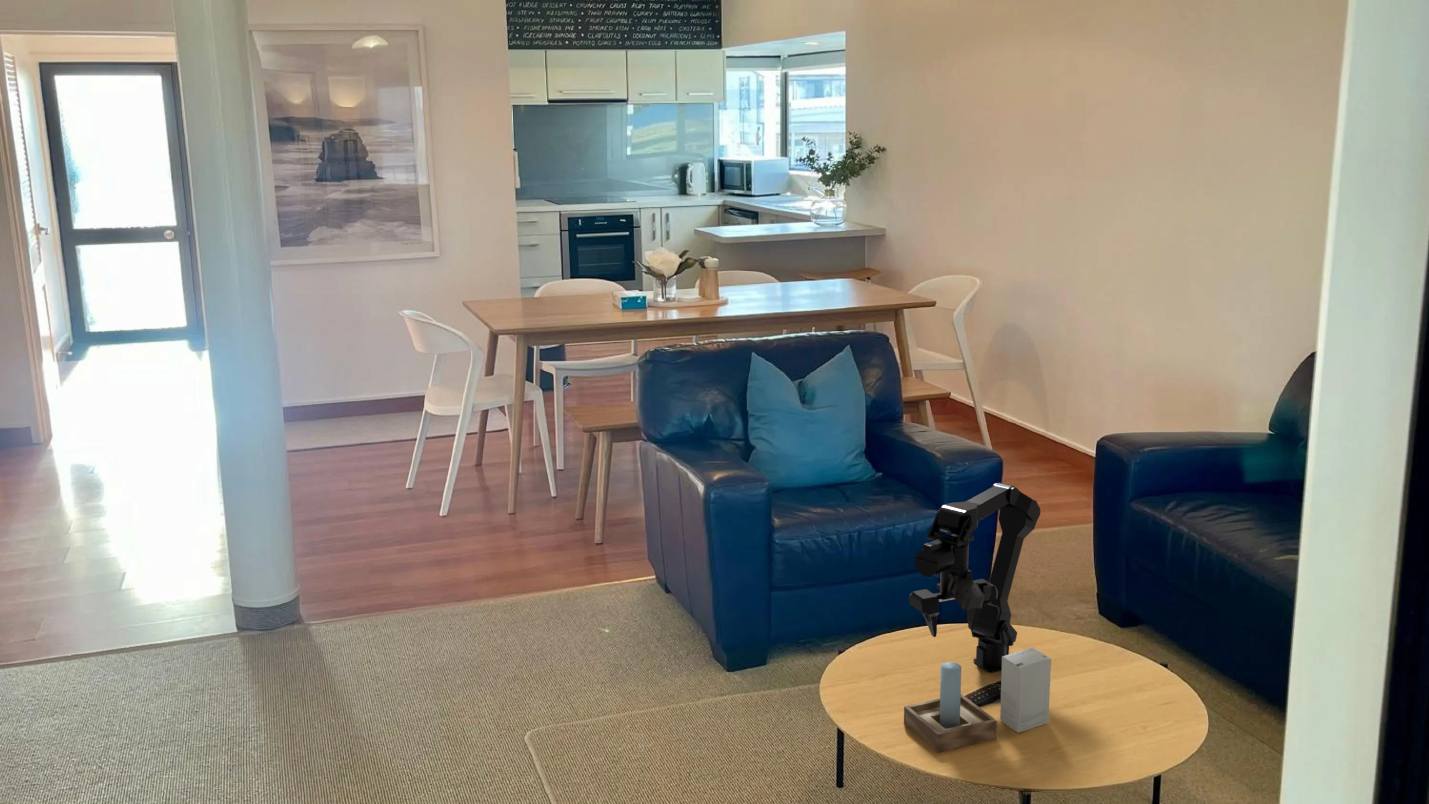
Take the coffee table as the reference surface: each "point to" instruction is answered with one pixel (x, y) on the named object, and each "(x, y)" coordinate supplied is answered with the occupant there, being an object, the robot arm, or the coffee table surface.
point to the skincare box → (1025, 689)
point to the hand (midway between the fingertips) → (952, 632)
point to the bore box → (970, 731)
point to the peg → (950, 695)
